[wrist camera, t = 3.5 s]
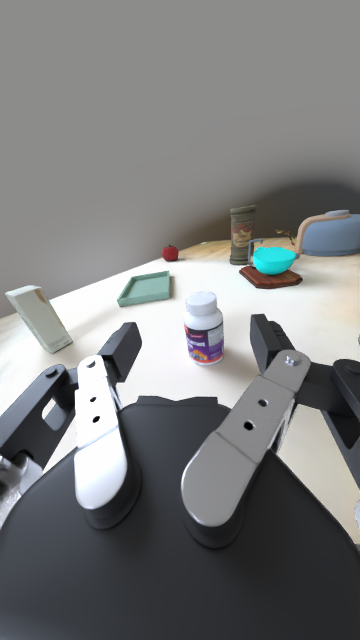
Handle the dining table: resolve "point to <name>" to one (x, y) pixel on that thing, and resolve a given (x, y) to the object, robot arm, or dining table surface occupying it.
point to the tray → (146, 289)
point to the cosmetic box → (39, 317)
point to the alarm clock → (329, 234)
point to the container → (242, 234)
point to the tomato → (170, 253)
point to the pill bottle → (204, 328)
